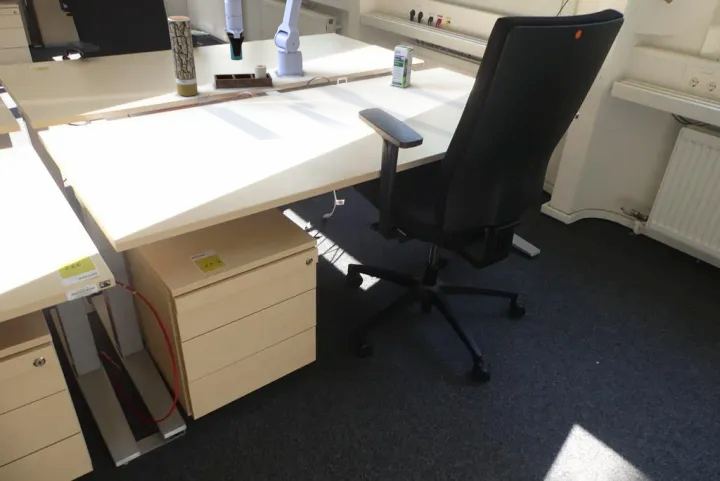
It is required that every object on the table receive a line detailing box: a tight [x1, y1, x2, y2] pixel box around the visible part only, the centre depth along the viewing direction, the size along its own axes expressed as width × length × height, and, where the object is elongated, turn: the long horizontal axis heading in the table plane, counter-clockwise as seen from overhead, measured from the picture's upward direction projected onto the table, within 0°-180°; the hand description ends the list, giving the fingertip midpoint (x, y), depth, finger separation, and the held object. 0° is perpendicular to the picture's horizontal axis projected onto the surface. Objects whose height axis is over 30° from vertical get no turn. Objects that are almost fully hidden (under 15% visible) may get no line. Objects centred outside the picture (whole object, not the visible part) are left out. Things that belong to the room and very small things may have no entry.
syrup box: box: [390, 44, 414, 88], centre depth 206 cm, size 6×6×14 cm
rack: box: [213, 72, 273, 90], centre depth 198 cm, size 20×7×4 cm, turn 107°
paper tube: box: [167, 15, 199, 97], centre depth 181 cm, size 7×7×25 cm
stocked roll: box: [254, 64, 267, 78], centre depth 198 cm, size 4×4×6 cm
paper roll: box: [229, 41, 244, 61], centre depth 197 cm, size 4×4×6 cm
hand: (236, 54), depth 198 cm, fingers closed on paper roll, 4 cm apart
